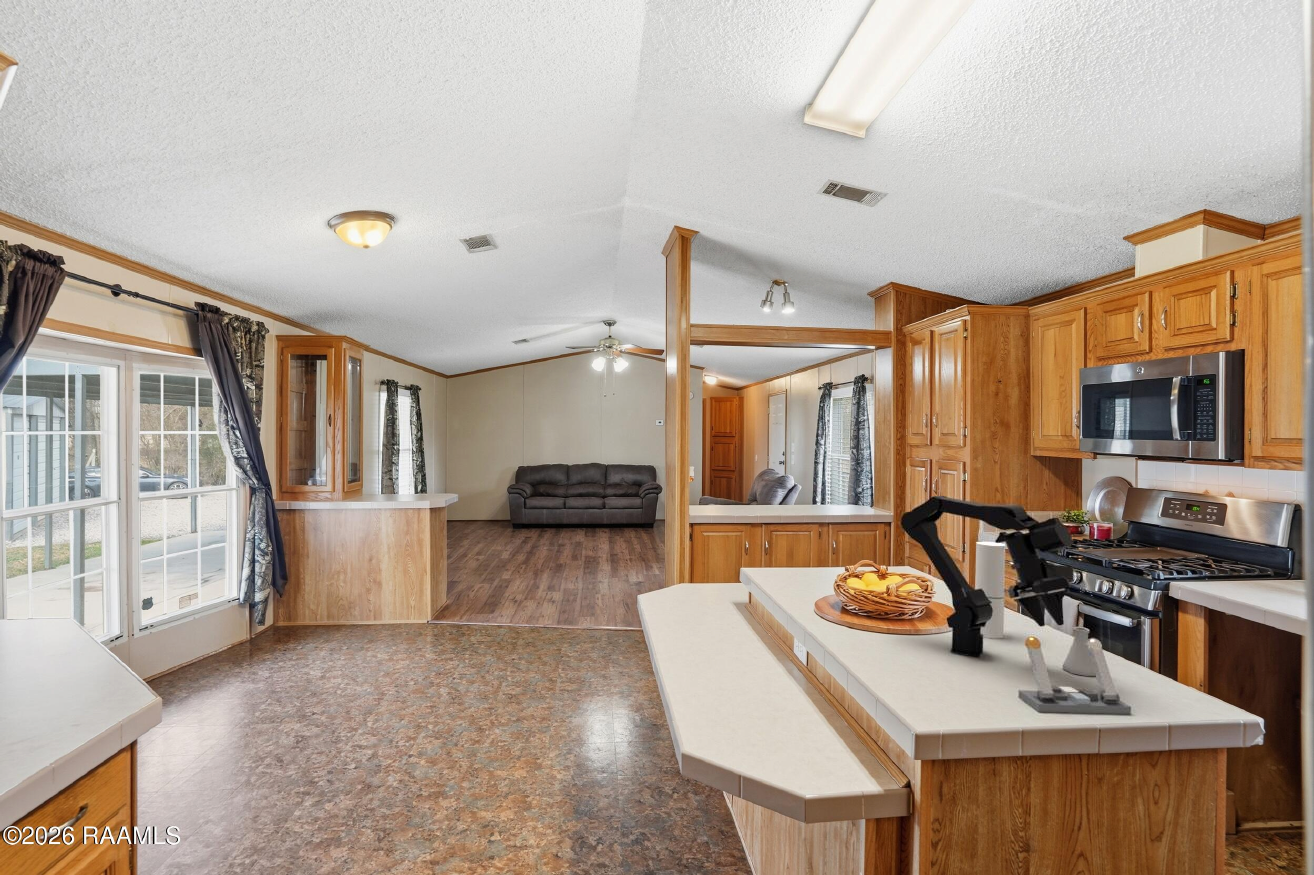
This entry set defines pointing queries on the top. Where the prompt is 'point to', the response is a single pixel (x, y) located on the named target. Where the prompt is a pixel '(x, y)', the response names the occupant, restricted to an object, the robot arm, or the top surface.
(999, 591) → the cylindrical container
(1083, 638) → the flask
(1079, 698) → the panel
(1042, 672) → the orange knob lever
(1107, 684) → the lever
